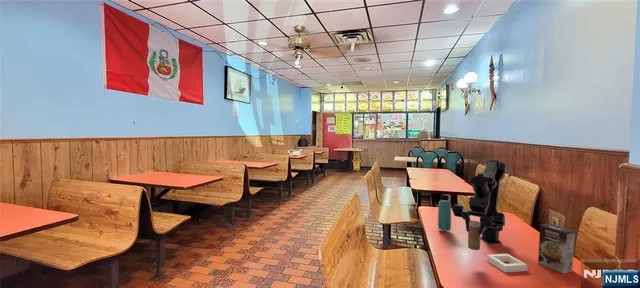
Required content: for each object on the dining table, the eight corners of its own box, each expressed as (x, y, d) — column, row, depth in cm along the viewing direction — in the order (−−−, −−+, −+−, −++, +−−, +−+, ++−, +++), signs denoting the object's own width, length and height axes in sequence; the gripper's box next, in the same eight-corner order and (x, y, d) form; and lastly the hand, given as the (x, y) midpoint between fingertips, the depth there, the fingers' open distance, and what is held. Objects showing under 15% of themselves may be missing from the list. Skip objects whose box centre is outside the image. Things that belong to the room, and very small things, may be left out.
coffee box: (537, 263, 111) (538, 224, 110) (546, 260, 113) (548, 222, 112) (564, 274, 102) (566, 232, 102) (573, 270, 105) (575, 230, 104)
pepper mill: (474, 245, 112) (475, 220, 111) (482, 249, 107) (483, 223, 107) (465, 245, 111) (466, 220, 111) (472, 250, 107) (473, 224, 106)
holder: (507, 259, 114) (507, 253, 114) (527, 271, 105) (527, 264, 104) (486, 260, 113) (486, 254, 113) (504, 272, 103) (505, 266, 103)
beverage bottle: (452, 234, 142) (453, 196, 141) (438, 233, 143) (439, 195, 142) (448, 229, 148) (450, 193, 147) (436, 228, 150) (437, 193, 149)
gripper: (453, 186, 117) (444, 216, 110) (505, 192, 105) (498, 228, 97) (458, 200, 124) (450, 230, 116) (507, 208, 111) (502, 243, 103)
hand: (473, 232), depth 108 cm, fingers closed on pepper mill, 4 cm apart
